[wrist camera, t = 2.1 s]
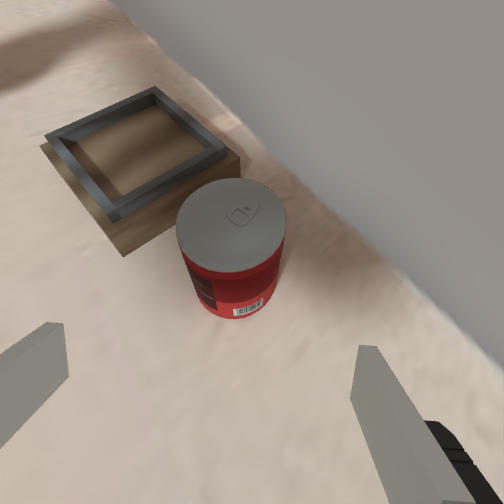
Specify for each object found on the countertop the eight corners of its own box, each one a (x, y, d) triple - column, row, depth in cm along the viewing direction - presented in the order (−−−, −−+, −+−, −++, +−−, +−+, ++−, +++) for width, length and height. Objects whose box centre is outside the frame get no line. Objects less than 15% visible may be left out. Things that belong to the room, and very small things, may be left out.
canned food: (287, 268, 32) (304, 198, 23) (252, 336, 29) (254, 288, 19) (222, 239, 34) (213, 163, 24) (181, 300, 30) (151, 239, 21)
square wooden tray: (57, 171, 39) (31, 134, 34) (167, 117, 44) (157, 79, 39) (123, 257, 33) (102, 227, 28) (240, 182, 38) (239, 146, 33)
